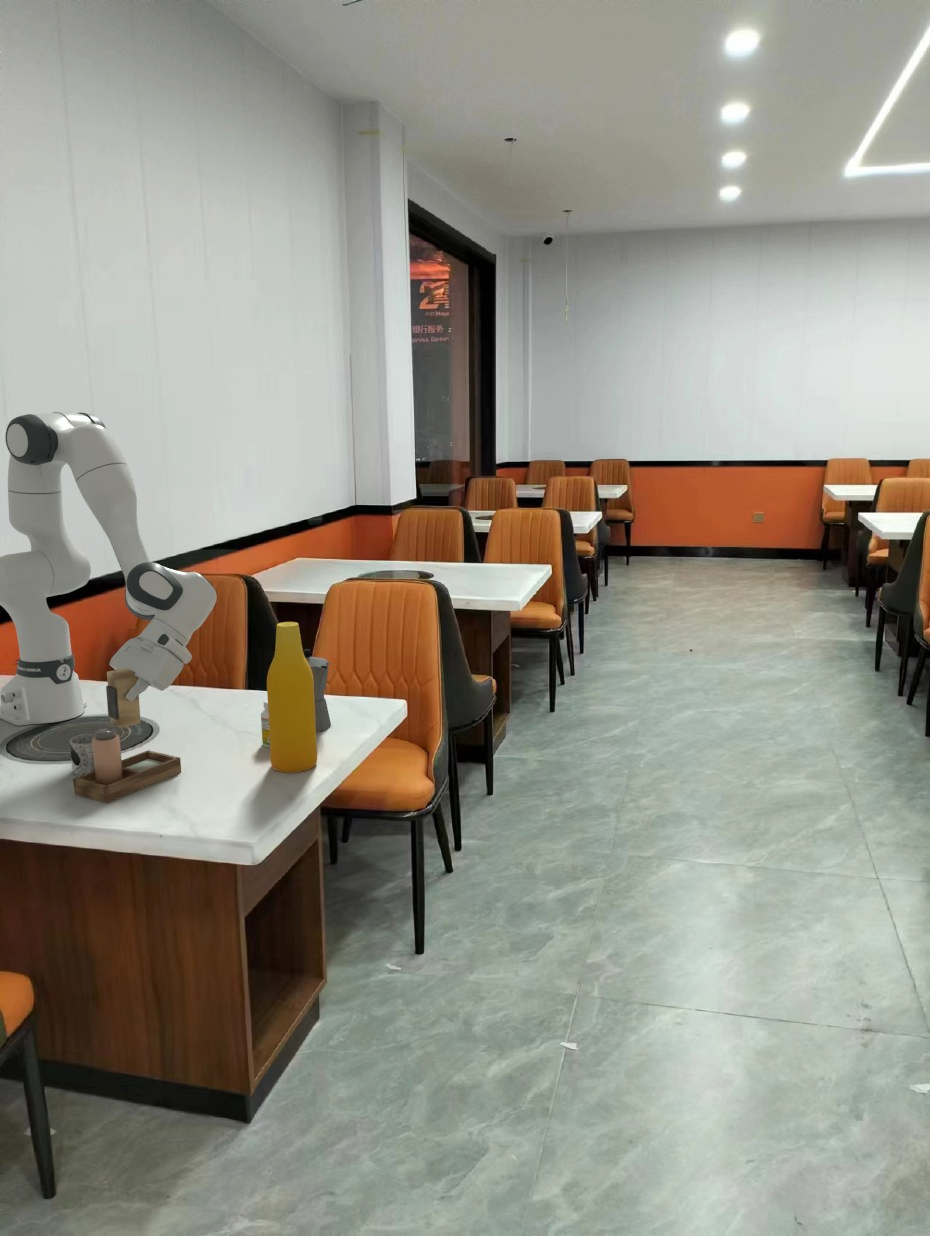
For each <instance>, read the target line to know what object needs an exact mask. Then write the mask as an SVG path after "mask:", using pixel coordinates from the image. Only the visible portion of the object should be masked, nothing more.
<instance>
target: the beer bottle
mask: <svg viewBox="0 0 930 1236" xmlns="http://www.w3.org/2000/svg"><path fill="white" fill-rule="evenodd" d="M300 632H301V631H300V626H299V623H298V622H295V621H284V622H279V623H277V624H276V632H275V648H274V649H275V650H274V656H273V658H272V661H271V664H270V666H269V668H268V671H267V677H266V692H267V694H266V695H267V699H268V714H269V733H270V747H269V751H270V753H269V754H270V755H269V757H270V763H271V767H272V768H273V770H275V771H276V772H277V771H278V772H281V773H287V772H288V773H300V772H305V771H309V770H312V769H313V768H314V767H315V766H316V764H317V763H318V749H317V746H318V745H317V732H316V725H315V702H314V679H313V674H312V670H311V668H310V666H309V664H308V662H307V660H306V658H305V656H304V652H303V650H304V649H303V645H302V638H301V637H302V636H301V633H300Z"/></svg>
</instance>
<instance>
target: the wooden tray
mask: <svg viewBox="0 0 930 1236" xmlns="http://www.w3.org/2000/svg"><path fill="white" fill-rule="evenodd" d="M121 761H122V773H123V779H122V780H119V781H117V782H114V783H112V784H109V785H107V786H106V785H102V784H99V783H96V777H95V771H92V772H90V773H87V774H84V775H82V776H76V777H75V778H72V782H73V791H74V792H73V793H74V795H77V796H80V797H84V798H87V799H90V798H91V799H90V800H95V801H99V802H101V803H104V804H105V803H106V804H109V803H111V802H114V801H116V800H118V798H119V799H121V798H123V797H125V796H128V795H131V794H132V793H135V792H137V791H140V790H142V789H145V788H146V787H150V786H152V785H154V784H156V783H159V782H161V781H163V780H166V779H169V778H170V777H173V776H175V775H178V774H180V773H182V763H181V762H182V761H181V757H178V756H173V755H171V754H170V755H169V754H165V753H163V752H162V753H161V752H157V751H152V750H150V749H149V750H146V751H143V752H140V753H138V754H134V755H132V756H130V757H127V758H124V759H121Z"/></svg>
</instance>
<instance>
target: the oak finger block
mask: <svg viewBox="0 0 930 1236" xmlns="http://www.w3.org/2000/svg"><path fill="white" fill-rule="evenodd" d="M135 673H136V672H134V671H132V670H129V669H127V668H123V669H118V670H115V669H114V670H108V671H106V681H107V685H106V686H105V691H106V701H107V703H106V704H107V705H106V706H107V716H108V717H109V719H110V724H112V725H114V726H115V727H117V728H119V729H122V728H128V727H130V726H135V725H140V724H141V711H140V710H141V709H140V707H141V706H140V694H139V695H137V697H136V698H135V699H134V701H132V702H131V701H129V700H127V699H126V698H124V694H125V693H126V691H127V690H128V689H129V690H130V689H131V688H132V687H133V686H135V685H136V681H137V680H138V678H137V677H135Z"/></svg>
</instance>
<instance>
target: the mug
mask: <svg viewBox="0 0 930 1236" xmlns="http://www.w3.org/2000/svg"><path fill="white" fill-rule="evenodd" d="M94 736H95V732H94V733H92V732H91V733H85V734H80V735H75V736H73V737H72V738H70V739H69V749H70V751H69V752H70V761H71V769H72V770H71V771H72V774H73V775H74V776H76V775H77V776H76V777H79V776H82V775H84V774H87V773H90V772H92V771H95V766H94V755H93V745H92V738H93V737H94Z"/></svg>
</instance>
